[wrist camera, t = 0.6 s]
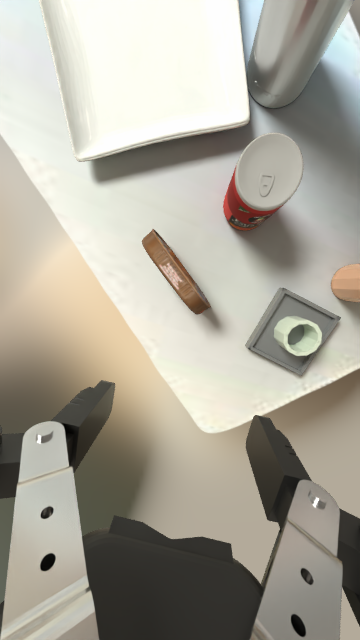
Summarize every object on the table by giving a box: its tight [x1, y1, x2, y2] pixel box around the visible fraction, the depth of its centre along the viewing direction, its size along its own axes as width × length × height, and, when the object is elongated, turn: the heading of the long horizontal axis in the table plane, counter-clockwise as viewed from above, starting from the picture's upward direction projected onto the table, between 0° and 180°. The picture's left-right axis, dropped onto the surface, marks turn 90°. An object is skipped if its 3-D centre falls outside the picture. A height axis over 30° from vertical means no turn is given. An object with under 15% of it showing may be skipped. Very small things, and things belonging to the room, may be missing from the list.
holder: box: [274, 316, 322, 356], centre depth 34 cm, size 6×6×4 cm
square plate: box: [39, 0, 250, 162], centre depth 30 cm, size 27×27×4 cm
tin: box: [142, 229, 211, 314], centre depth 33 cm, size 15×3×8 cm, turn 37°
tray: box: [245, 288, 341, 375], centre depth 37 cm, size 12×11×2 cm
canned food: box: [223, 133, 303, 230], centre depth 29 cm, size 8×8×11 cm
